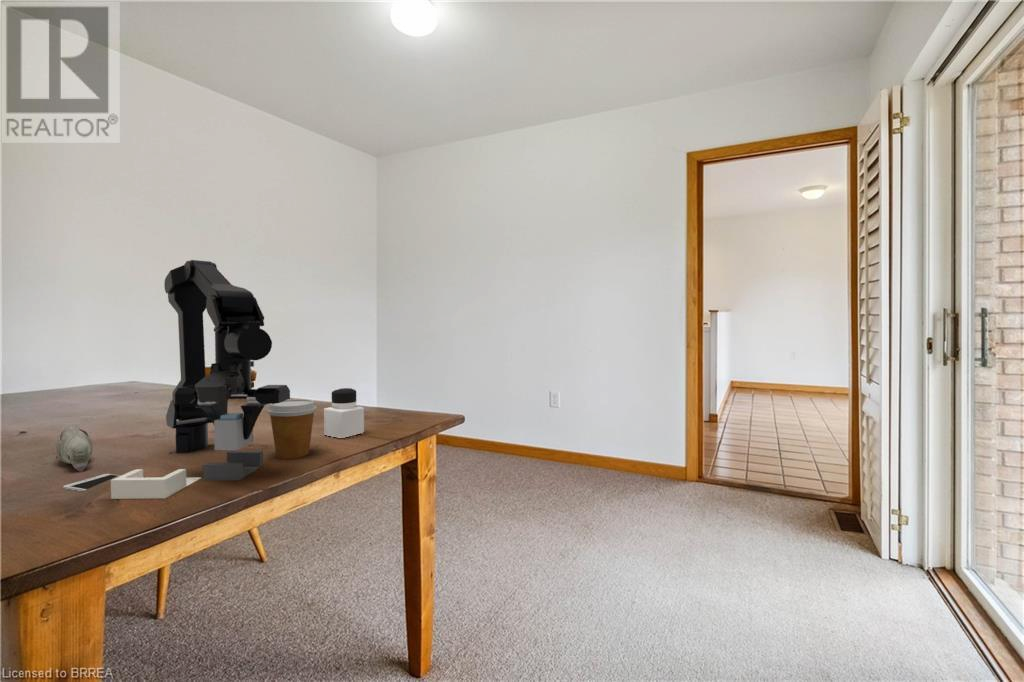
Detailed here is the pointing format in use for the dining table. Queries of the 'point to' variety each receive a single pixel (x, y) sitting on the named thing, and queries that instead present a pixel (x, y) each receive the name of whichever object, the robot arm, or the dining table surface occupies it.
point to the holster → (234, 466)
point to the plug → (230, 432)
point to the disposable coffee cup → (292, 427)
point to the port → (149, 485)
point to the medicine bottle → (343, 415)
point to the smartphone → (89, 482)
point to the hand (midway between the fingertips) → (234, 439)
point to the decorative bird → (74, 446)
